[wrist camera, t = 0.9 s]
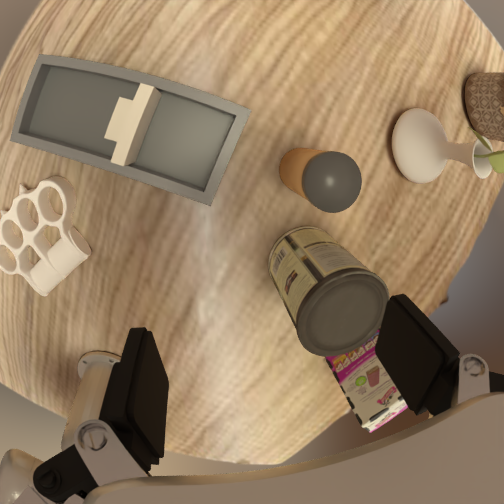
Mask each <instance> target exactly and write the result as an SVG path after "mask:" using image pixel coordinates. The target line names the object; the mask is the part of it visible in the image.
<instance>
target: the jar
mask: <svg viewBox="0 0 504 504" xmlns="http://www.w3.org/2000/svg"><path fill="white" fill-rule="evenodd" d="M279 173H280V177H281V180H282V181H283V183H284V184H285V185H286V186H287V187H288V188H290V189H291V190H293V191H294V192H296V193H297V194H299V195H300V196H302V197H304V198H305V199H307V200H308V201H309V202H310V203H311V204H313V205H314V206H315V207H317V208H318V209H320V210H322V211H325V212H329V213H337V212H341V211H343V210H345V209H347V208H349V207H350V206H351V205H352V204H353V203H354V202H355V200H356V199H357V197H358V195H359V193H360V190H361V184H362V179H361V173H360V170H359V167H358V166H357V164H356V162H355V161H354V160H353V159H352V158H351V157H349V156H348V155H346V154H344V153H340V152H334V151H321V150H314V149H306V148H296V149H293V150H291V151H289V152H288V153H286V154H285V155H284V157H283V158H282V160H281V163H280V166H279Z"/></svg>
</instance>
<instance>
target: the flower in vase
mask: <svg viewBox="0 0 504 504" xmlns="http://www.w3.org/2000/svg"><path fill="white" fill-rule="evenodd" d="M500 108H501V110H500V111H501V113H502V114H503V116H504V107H501V106H500ZM468 128H469V127H468ZM469 129H471V130H473V129H472V128H469ZM473 131H474V130H473ZM474 133H475V135H476V136H477V140H476V141H474V142H472V143H467V144H458V143H452V142H448V139H447V135H446V132H445V130H444V128H443V126H442V124H441V123H440V121H439V120H438V119H437V118H436V117H435V116H434V115H433V114H432V113H430V112H428V111H426V110H424V109H421V108H412V109H409V110H407V111H405V112H404V113H403V114H402V115H401V116H400V117H399V119H398V121H397V123H396V125H395V127H394V130H393V134H392V151H393V155H394V159H395V162H396V164H397V166H398V168H399V170H400V171H401V173H402V174H403V175H404V176H405V177H406V178H407V179H408V180H410V181H412V182H414V183H418V184H423V183H427V182H431V181H433V180H434V179H436V178H437V177H438V176H439V175H440V173H441V172H442V170H443V169H444V167H445V165H446V162H447V159H452V160H456V161H460V162H462V163H465V164H467V165H468V166H470V167H471V168H472V169H473V170H474V172H475V173H476V175H477V176H478V177H479V178H481V179H485V178H487V177H488V176H489V174H490V173H491V170H492V168H493V169H494V171H495V172H497V173H504V150H503V151H497V152H493V149H492V145H491V143H490V141H489V140H488V139H487V138H486V137H484V136H481V135H480V134H479V133H477V132H476V131H474Z"/></svg>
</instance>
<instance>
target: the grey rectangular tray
mask: <svg viewBox="0 0 504 504" xmlns="http://www.w3.org/2000/svg"><path fill="white" fill-rule="evenodd" d="M140 83H142V84H146V85H150V86H153V87H155V88H156V89H157V90H158V91H159V92H160V93H161V94H162V96H161V98H160V100H159V102H158V105H157V107H156V109H155V112H154V114H153V117H152V119H151V122H150V124H149V127H148V129H147V132H146V134H145V137H144V140H143V142H142V145H141V148H140V150H139V153H138V156H137V159H136V162H134V163H131V164H129V165H126V166H121V165H118V164H115V163H112V162H111V159H112V156H113V153H114V150H115V147H116V144H117V142H116V141H113V140H109V139H106V138H104V137H105V134H106V131H107V128H108V125H109V122H110V120H111V117H112V114H113V112H114V109H115V107H116V104H117V102H118V99H119V97H122V98H126V99H129V100H133V99H134V97H135V95H136V92H137V90H138V88H139V86H140ZM250 113H251V110H250V109H248V108H245V107H243V106H241V105H238V104H236V103H233V102H231V101H228V100H225V99H223V98H220V97H218V96H215V95H212V94H209V93H207V92H204V91H201V90H198V89H195V88H192V87H189V86H186V85H183V84H180V83H177V82H174V81H170V80H167V79H164V78H160V77H157V76H153V75H150V74H146V73H142V72H138V71H134V70H130V69H126V68H122V67H117V66H113V65H108V64H103V63H98V62H93V61H87V60H81V59H75V58H68V57H61V56H53V55H43V54H39V56H38V58H37V60H36V63H35V65H34V68H33V70H32V72H31V75H30V77H29V80H28V83H27V85H26V88H25V91H24V94H23V97H22V100H21V103H20V106H19V109H18V112H17V116H16V119H15V123H14V127H13V130H12V134H11V139H10V141H12V142H16V143H19V144H23V145H26V146H30V147H33V148H36V149H40V150H43V151H46V152H50V153H53V154H56V155H59V156H63V157H66V158H69V159H72V160H76V161H79V162H82V163H85V164H88V165H91V166H94V167H97V168H101V169H104V170H107V171H110V172H113V173H116V174H119V175H122V176H125V177H128V178H131V179H134V180H137V181H140V182H143V183H146V184H148V185H151V186H154V187H157V188H160V189H163V190H166V191H169V192H172V193H174V194H177V195H180V196H183V197H186V198H189V199H191V200H194V201H197V202H200V203H203V204H205V205H208V206H211V204H212V201H213V199H214V196H215V194H216V191H217V189H218V186H219V184H220V181H221V179H222V177H223V174H224V172H225V169H226V167H227V165H228V162H229V160H230V158H231V155H232V153H233V151H234V148H235V146H236V144H237V141H238V139H239V137H240V135H241V132H242V130H243V128H244V126H245V124H246V121H247V119H248V117H249V115H250Z"/></svg>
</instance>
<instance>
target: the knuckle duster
mask: <svg viewBox="0 0 504 504" xmlns="http://www.w3.org/2000/svg"><path fill="white" fill-rule="evenodd" d="M51 187H53V188H55V189H56V190H57V191H58V193H59V194H60V197H61V200H62V202H63V214H62V215H58V214H57V213H55V212H54V210H53V209H52V206H51V204H50V201H49V191H50V189H51ZM29 199H30V200H31V201H32V202H33V203H34V204H35V207H36V209H37V212H38V216H39V223H38V224H36V223H35V222H34V221H33V220H32V219H31V217H30V214H29V211H28V200H29ZM75 207H76V195H75V191H74V189H73V187H72V185H71V184H70V182H69V181H67V180H66V179H65V178H63V177H59V176H54V177H51V178H48V179H45V180H42V181H40V183H39V185H38V187H37V188H36V189H34V188H33V189H31V190H27V189H26V188H25V187H24V186H23V185H22V184H21V183H20V189H19V196H17V197H16V198H14V200H13V204H12V206H11V208H10V210H9V211H4V210H1V214H2V218H1V221H0V269H1V270H2V271H4V272H5V273H7V274H11V275H13V274H16V273H18V274H20V275H22V276H24V278H25V279H26V280H27V282H28V283H29V284H30V285H31V286H32V287H33V289H34V290H35V291H36V292H37V293H38V294H40V295H42V296H47V295H48V294H49V293H50V292H51V291H52V290H53V289H54V288H55V287H56V286H57V285H58V284H59V283H60V282H61V281H62V280H63V279H65V278H66V277H67V276H68V275H69V274H70V273H71V272H72V271H73V270H74V269H75V268H76V267H78V266H79V265H80V264H81V263H82V262H83V261H84V260H86V259H87V258H88V257H89V256H90V255H91V249H90V247H89V245H88V243H87V242H86V240H85V239H84V238H83V236H82V235H81V234H80V233H79V232H78V231H77V230H76V229H75V227H74V226H73V222H72V215H73V213H74V211H75ZM13 221H14V222H15V223H16V224H17V225H18V226H19V227H20V229H21V231H22V234H23V240H21V239H20V238H19V237H18V236H17V235H16V234H15V232H14V230H13V226H12V222H13ZM48 225H49V226H56V227H58V229H59V230H60V236H61V238H60V239H59V240H58V241H57V242H56V243H55V244H54V245H53V246H51V244H50V243H49V242H48V240H47V239H46V237H45V236H44V230H45V229H46V227H47V226H48ZM30 246H32V247H33V249H34V250H35V251H36V253H37V254H38V255H39V257H40V258H41V259H40V260H39V261H38V262H37V264H36V265H34V264H31V263H30V261H29V253H28V248H29V247H30ZM6 247H8V248H9V249H10V250H11V251H12V252H13V254H14V256H15V258H16V262H15V261H14V260H13V259H12V258H11V257H10V256H9V255H8V253H7V249H6Z"/></svg>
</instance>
